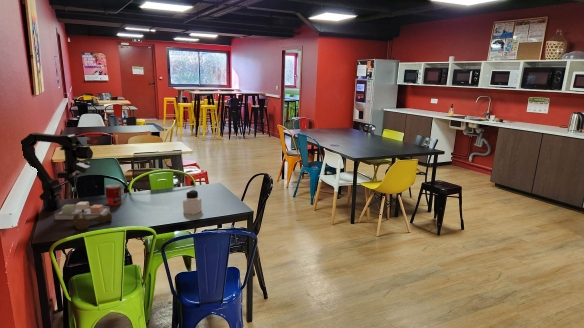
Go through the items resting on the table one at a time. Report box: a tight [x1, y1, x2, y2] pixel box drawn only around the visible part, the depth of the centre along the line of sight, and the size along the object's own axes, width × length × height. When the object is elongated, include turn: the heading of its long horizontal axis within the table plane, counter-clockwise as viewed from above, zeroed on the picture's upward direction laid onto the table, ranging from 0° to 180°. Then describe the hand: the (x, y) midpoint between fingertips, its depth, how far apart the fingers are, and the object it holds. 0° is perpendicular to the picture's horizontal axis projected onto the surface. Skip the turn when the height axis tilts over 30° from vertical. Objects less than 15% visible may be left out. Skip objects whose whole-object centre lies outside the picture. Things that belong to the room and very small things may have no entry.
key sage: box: [61, 204, 76, 213], centre depth 196 cm, size 5×5×3 cm
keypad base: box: [54, 205, 111, 220], centre depth 197 cm, size 22×12×4 cm, turn 95°
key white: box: [75, 201, 90, 210], centre depth 196 cm, size 5×5×3 cm
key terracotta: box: [90, 204, 104, 213], centre depth 197 cm, size 5×5×3 cm
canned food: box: [104, 183, 123, 207], centre depth 214 cm, size 8×8×11 cm
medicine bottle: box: [182, 189, 203, 216], centre depth 205 cm, size 7×7×12 cm
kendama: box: [65, 211, 113, 231], centre depth 185 cm, size 6×10×20 cm
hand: (73, 187), depth 202 cm, fingers closed
